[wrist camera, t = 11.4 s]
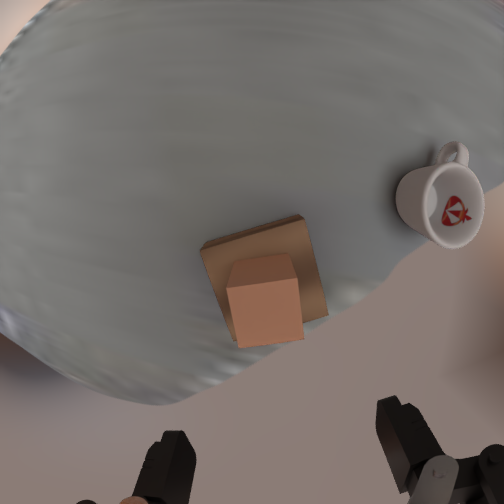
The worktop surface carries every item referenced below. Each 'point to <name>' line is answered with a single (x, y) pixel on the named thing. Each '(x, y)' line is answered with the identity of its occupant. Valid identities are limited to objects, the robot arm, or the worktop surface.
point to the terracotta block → (265, 301)
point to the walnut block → (261, 245)
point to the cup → (443, 199)
